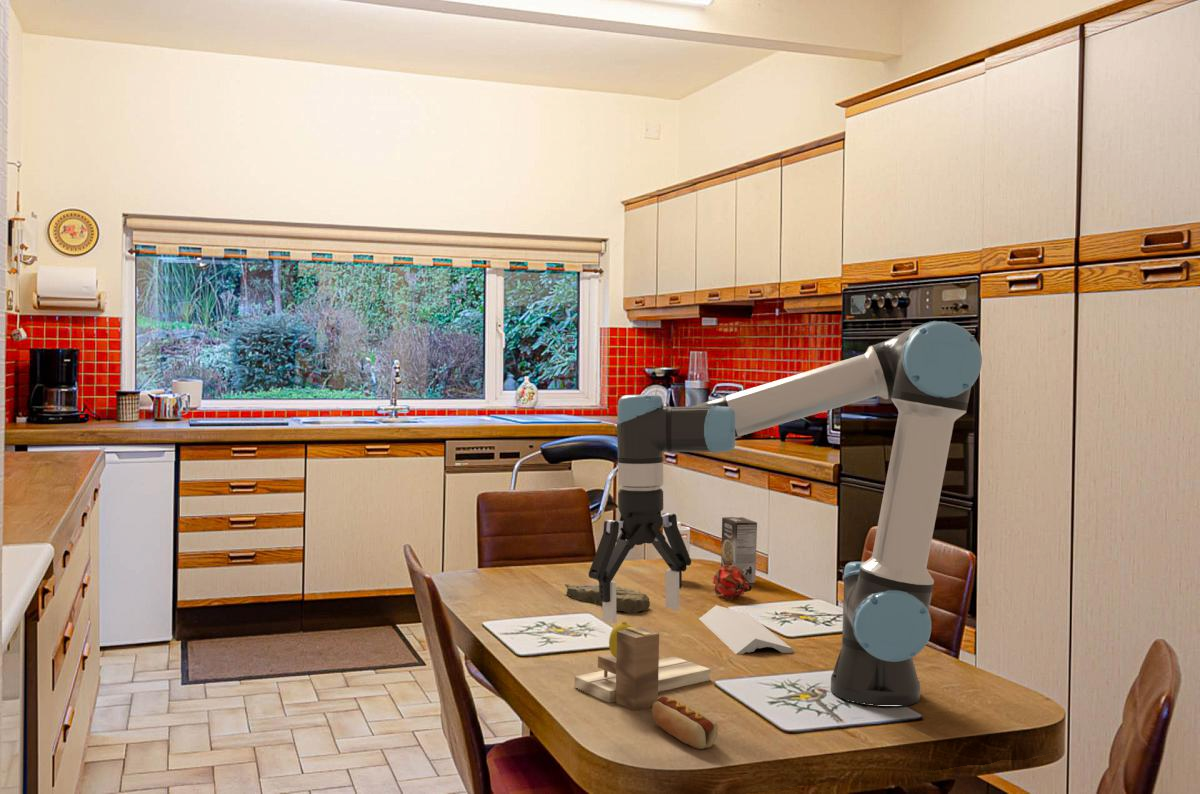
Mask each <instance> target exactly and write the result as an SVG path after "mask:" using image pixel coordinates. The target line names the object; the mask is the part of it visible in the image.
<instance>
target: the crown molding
mask: <svg viewBox="0 0 1200 794" xmlns="http://www.w3.org/2000/svg"><path fill="white" fill-rule="evenodd" d="M698 619H699V621H700V622H702V624H704V626H706V627H707V628H708V629H709V630H710V631H711V632H712V633H713V634H714V635H715V636H716V637H718V638H719V640H720V641H721V642H722V643H724V644H725V645H726V646H727V647H728V648H729V650H731V651H732V652H733V653H734V654H735V655H744V654H745V653H754V652H755V650H757V649H764V648H773V649H775V650H777V651H778V652H780V653H781V654H789V653H790V654H791V653H793V654H794V653H795V650H794V649H793V648H792V647H791V646H790V645H788V644H787V643H786V642H785V641H784V640H782V639H781V638H779V636H777V635H776V634H774V633H773V632H772V631H771V630H770V629H768V628H767V627H766V626H764V625H763V624H762V623H760V622H759V621H758V620H757V619H755V617H753V616H752V615H751V614H749V613H746V612H743V611H740V610H736V609H733V608H728V607H724V606H720V605H717V604H716V605H714V606H713V607H711V609H709V610H708V611H707V612H706V613H704V614H703V615H702V616H701V617H699V618H698Z"/></svg>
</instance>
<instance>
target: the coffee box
mask: <svg viewBox="0 0 1200 794" xmlns="http://www.w3.org/2000/svg"><path fill="white" fill-rule="evenodd" d="M757 536H758V521H757V522H756V521H753V520H751V519H749V518H745V517H737V516H736V517H734V516H731V517H729V516H728V517H727V516H726V517H722V518H721V557H720V559H721V560H720V566H721V567H722V566H724V565H732V566H735V567H737V568H738V569H741V570H743V572H744V573H743V574H744V575H745V576H746V578H747V581H749V583H748V582H747V581H746V583H747V584H753V583H756V572H757V571H756V569H757V567H756V566H757V565H756V564H757V544H758V543H757V539H758V537H757ZM721 567H720V568H721Z"/></svg>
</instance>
